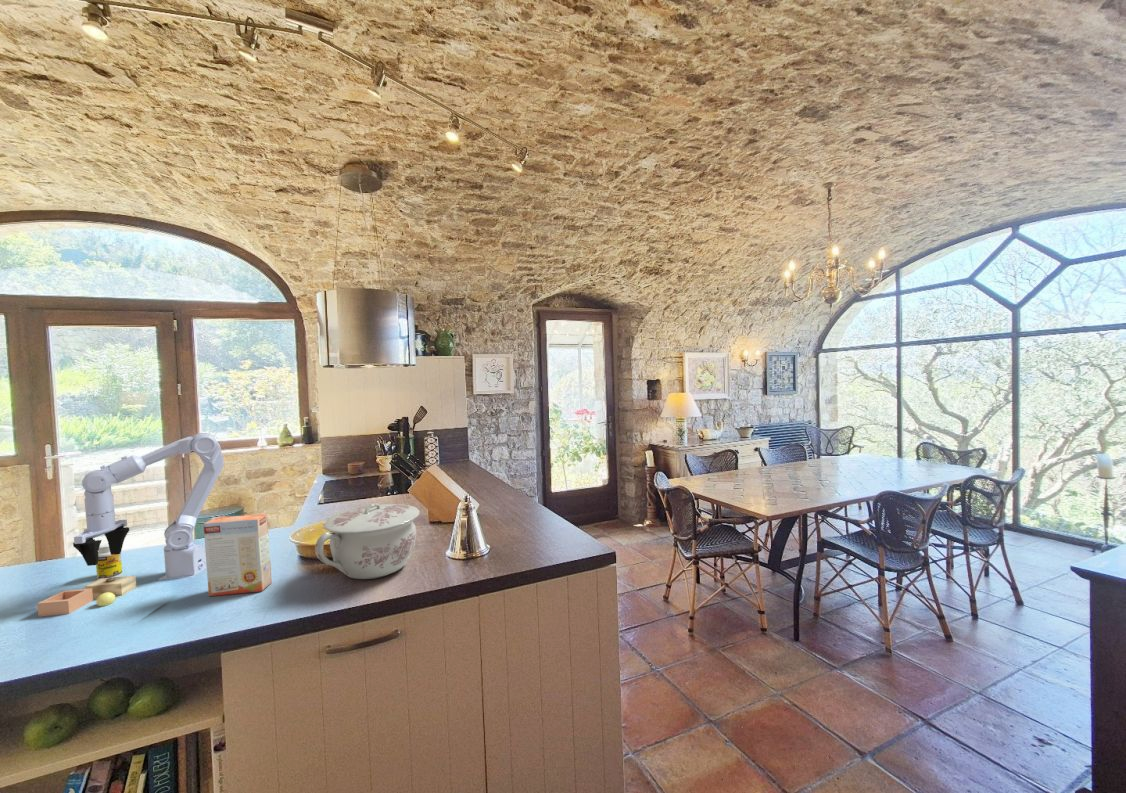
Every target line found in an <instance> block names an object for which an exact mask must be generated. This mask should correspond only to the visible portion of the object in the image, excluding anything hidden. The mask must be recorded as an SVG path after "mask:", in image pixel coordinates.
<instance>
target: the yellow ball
mask: <svg viewBox="0 0 1126 793" xmlns="http://www.w3.org/2000/svg"><path fill="white" fill-rule="evenodd" d="M115 600H116V598H115V595H114V594H113V593H111V592H106V593H103V594H101V595H100V596H99V597H98V598H97V600H95V601H96V605H97V606H98V607H105V606H109V605H111V604H113V603H115Z"/></svg>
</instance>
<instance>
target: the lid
mask: <svg viewBox="0 0 1126 793" xmlns="http://www.w3.org/2000/svg"><path fill="white" fill-rule="evenodd" d="M136 586H137V578H136V575H126V576H115V577H112V578H101V579H97V580H95V581H93V582H91V583H89V584H87V585H85V586H84V589H90V588H92V592H93V598H98V597H99V596H100V595H101V594H103V593H106V592H111V593H113V594H114V595H115V596H121V597H123V596H125V595H126V594H127V593H129V591H130V592H131V591H133V590H134V589H137V588H136ZM122 595H123V596H122Z"/></svg>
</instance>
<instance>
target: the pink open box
mask: <svg viewBox="0 0 1126 793" xmlns="http://www.w3.org/2000/svg"><path fill="white" fill-rule="evenodd" d="M91 602H94V600H93V592H92V588H90V589H85V588H80V589H71V590H70V589H69V590H62V591H60V592H57V593H55V594H54V595H51V596H50V597H48V598H46V599H44V600H42V601H39V602H37V603H36V605H37V614H38V615H37V617H47V616H50V617H51V616H59V615H69V614H71V613H73V612H76V611H77V610H78V609H81V608H83V607H85V606H87V605H88V604H90V603H91Z"/></svg>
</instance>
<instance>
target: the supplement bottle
mask: <svg viewBox="0 0 1126 793" xmlns="http://www.w3.org/2000/svg"><path fill="white" fill-rule="evenodd" d="M122 563H123V562H122V553H121V554H116V555H111V553H110V549H109V544H108V542H107V543H104V544H100V546H99V551H98V564H97V565H95V567H96V578H97V580H99V579H101V578H113V577H119V575H122V574H123V564H122Z"/></svg>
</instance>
